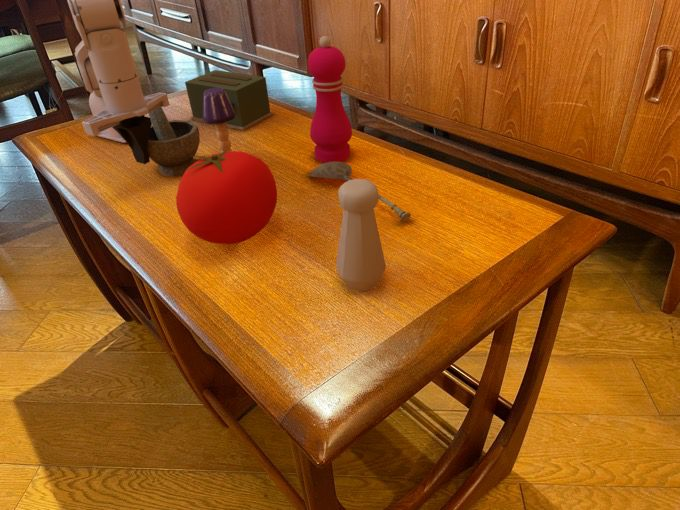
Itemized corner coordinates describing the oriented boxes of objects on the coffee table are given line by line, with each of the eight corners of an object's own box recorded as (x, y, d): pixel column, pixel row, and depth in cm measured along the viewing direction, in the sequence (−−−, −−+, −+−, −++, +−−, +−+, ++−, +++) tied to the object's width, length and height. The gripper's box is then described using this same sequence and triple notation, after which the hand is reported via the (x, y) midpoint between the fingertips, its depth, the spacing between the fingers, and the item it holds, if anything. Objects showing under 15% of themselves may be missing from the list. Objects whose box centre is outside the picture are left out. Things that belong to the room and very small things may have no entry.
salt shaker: (335, 268, 63) (328, 174, 55) (381, 263, 63) (380, 169, 55) (339, 298, 58) (332, 200, 50) (389, 294, 58) (389, 195, 51)
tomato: (299, 235, 69) (289, 158, 62) (203, 272, 64) (181, 192, 57) (261, 199, 78) (249, 129, 71) (174, 229, 72) (152, 155, 66)
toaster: (187, 122, 107) (178, 83, 102) (222, 105, 114) (215, 68, 109) (238, 133, 100) (231, 92, 95) (272, 114, 107) (266, 76, 103)
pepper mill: (338, 168, 85) (331, 43, 73) (304, 160, 89) (291, 39, 77) (360, 152, 90) (357, 32, 78) (327, 144, 93) (318, 29, 82)
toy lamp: (214, 198, 79) (189, 92, 69) (236, 186, 82) (215, 82, 72) (235, 206, 77) (213, 98, 67) (257, 193, 80) (238, 87, 70)
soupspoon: (335, 167, 87) (303, 181, 84) (332, 149, 85) (300, 163, 82) (423, 214, 71) (388, 233, 69) (423, 193, 70) (386, 211, 67)
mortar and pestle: (214, 168, 88) (199, 100, 81) (163, 186, 83) (142, 116, 76) (187, 149, 95) (172, 85, 88) (139, 164, 91) (118, 98, 84)
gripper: (92, 95, 68) (122, 185, 76) (172, 67, 78) (192, 149, 86) (61, 89, 72) (94, 176, 79) (142, 63, 81) (164, 142, 89)
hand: (143, 161), depth 83 cm, fingers closed
